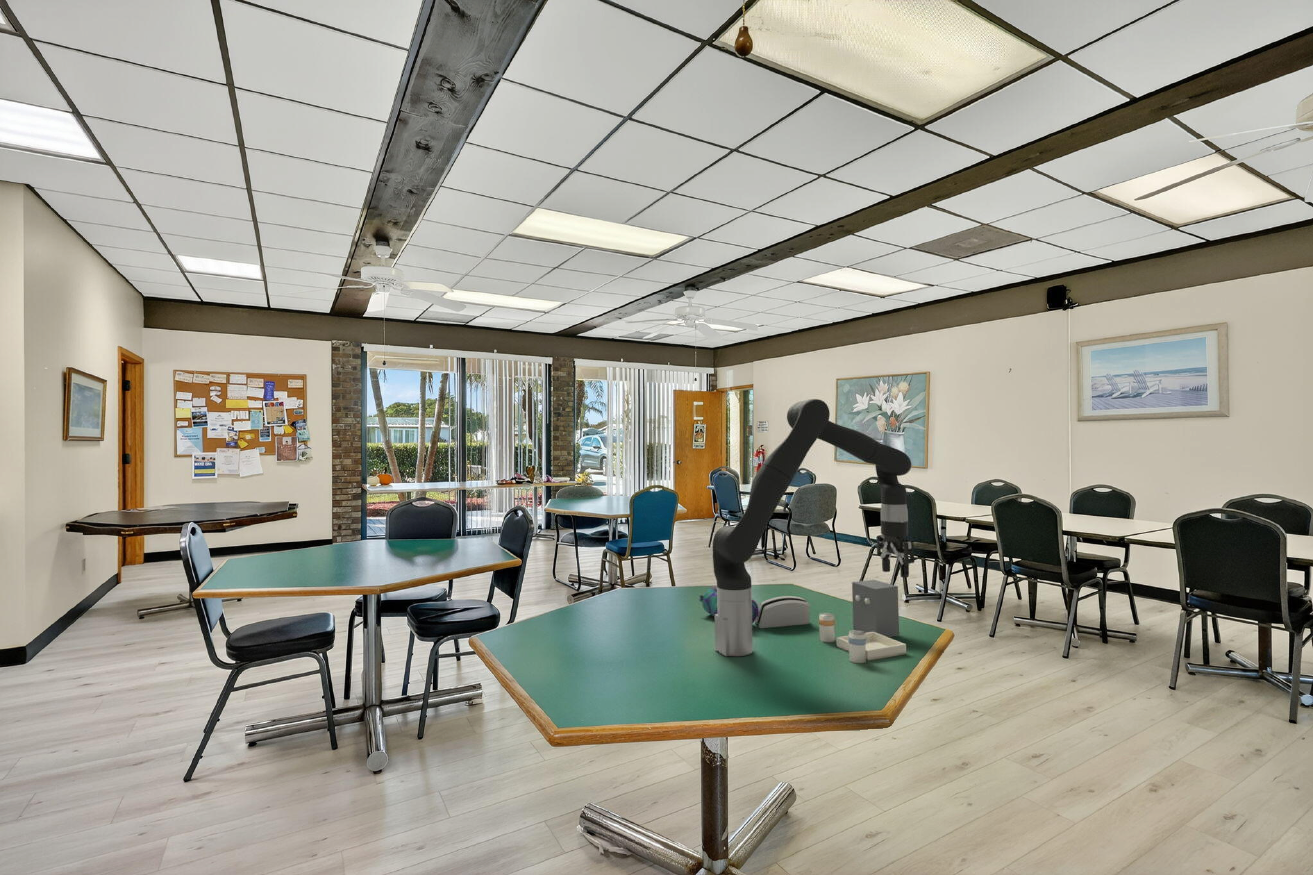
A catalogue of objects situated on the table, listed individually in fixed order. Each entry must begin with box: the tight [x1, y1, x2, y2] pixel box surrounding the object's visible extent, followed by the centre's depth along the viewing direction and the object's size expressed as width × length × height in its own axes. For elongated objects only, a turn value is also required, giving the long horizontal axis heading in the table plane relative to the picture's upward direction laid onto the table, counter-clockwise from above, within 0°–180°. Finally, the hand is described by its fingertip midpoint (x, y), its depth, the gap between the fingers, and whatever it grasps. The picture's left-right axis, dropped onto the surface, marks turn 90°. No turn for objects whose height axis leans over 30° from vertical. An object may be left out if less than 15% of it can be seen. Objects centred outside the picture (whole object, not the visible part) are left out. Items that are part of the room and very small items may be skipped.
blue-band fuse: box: [847, 630, 867, 664], centre depth 155 cm, size 4×4×7 cm
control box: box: [851, 579, 900, 638], centre depth 179 cm, size 9×10×14 cm
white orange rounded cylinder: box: [818, 612, 836, 643], centre depth 173 cm, size 4×4×7 cm
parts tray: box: [836, 632, 907, 662], centre depth 163 cm, size 12×12×2 cm
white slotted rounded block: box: [754, 595, 811, 629], centre depth 188 cm, size 17×5×10 cm, turn 104°
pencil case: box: [698, 585, 760, 625], centre depth 194 cm, size 21×9×10 cm, turn 30°
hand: (895, 574), depth 181 cm, fingers open, 8 cm apart
